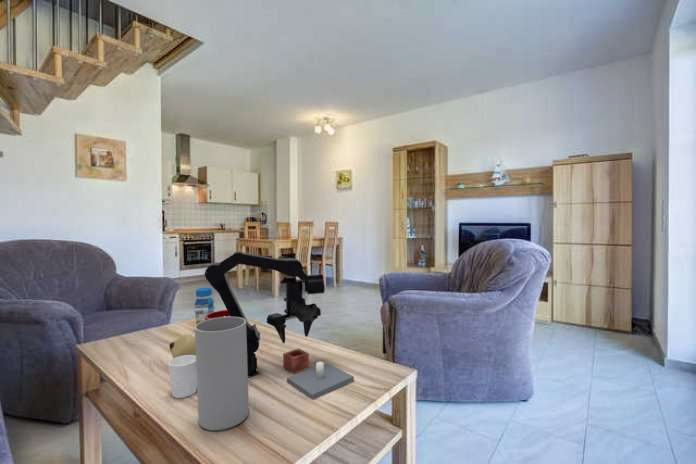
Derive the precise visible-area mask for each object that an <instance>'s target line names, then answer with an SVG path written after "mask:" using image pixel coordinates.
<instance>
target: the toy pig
mask: <svg viewBox="0 0 696 464" xmlns="http://www.w3.org/2000/svg"><path fill="white" fill-rule="evenodd" d="M168 347H169V351H170V353H171V356H172V359H174V358H176V357H179V356H184V355H194V356H196V347H195V336H193V335H190V334H183V335H181V336H180V337H179V338H176V339H173V341H172V342H171V343H169V346H168Z"/></svg>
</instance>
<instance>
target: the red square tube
mask: <svg viewBox="0 0 696 464" xmlns="http://www.w3.org/2000/svg"><path fill="white" fill-rule="evenodd" d="M309 355H310V353H308V352H307V351H305V350H303V349H300V348H296V349H293V350H289V351H287V352H286V351H285V352H283V354H282V358H283V359H282V361H283V367H282V368H284V369H285V370H287V371H288V372H291V373H292V374H293V375H295V374H297V373H298V372H299V373H300V372H303V371H305V370H308V369H310V356H309Z"/></svg>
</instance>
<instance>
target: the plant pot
mask: <svg viewBox="0 0 696 464" xmlns="http://www.w3.org/2000/svg"><path fill="white" fill-rule="evenodd" d="M219 317H230V315H229V313H228V311H227V309H222V310H217V311H216V310H215V311H214V312H212V313H209V314H207V315H206V316H205V320H209V319H213V318H219Z"/></svg>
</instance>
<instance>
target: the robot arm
mask: <svg viewBox="0 0 696 464" xmlns="http://www.w3.org/2000/svg"><path fill="white" fill-rule="evenodd" d="M238 265H244V266H249V267H255V268H262V269H267V270H274V271H276V272H278V273H280V274H283V277H282V278H281V279H280V280H279V282H280V284H281V285H283V284H285V297H283V300H284V302H285V306H286V307H285V309H284V310H283V312H284V314H281V313H278V312H274V313H271V314H268V315H267V317H266V324H268V325H270V326H272V327H274V328H275V331H276V332H277V334H278V336H279V338H280V341H281V342H282V344H285V343H286V328H287V325H286V322H287V321H288V320H292V319H297V320H298V321H299V322H301V323H302V324H303V332H304V337H306V338H307V337H309V333H310V330H311V327H312V324H313V322H314V321H315V320H316V319H318V318H319V316H320V317H321V315H322V311H321V310H322V309H321V308H320V307H318V305H317V304H316V303H311V304H307V303H306V298H305V297H303V296H304V295H303V293H304V292H306V293H307V295H317V294H319V295H320V294H325V288H326V287H325V283H324V282H325V281H324V275H323V274H322V273H316V274H307V272H305V271H304V270H303V268H304V267H303V265H302V263H301V262H300V260H299V259H298V258H295V257H283V258H281V257H279V258H274V257H269V256H264V255H258V254H254V253H248V252H244V251H241V250H238V251H235V252H234V253H233V254H231V255H230V256H228V257H227V258H224V259H223V260H222V261H220V262H213V263H211V264H210V265H208V266H207V268H206V269H205V271H204V276H205V277H204V278H205V279H206V280H207V282H208V283H209V284H210V286H211V287H212V288H213V290H215V291H216V292H217V293H218V295H219V297H220V299H221V301H222V303H223V304H224V306H225V310H227V311H228V313H229V315H230V317H240V318H243V319H245V320H246V336H247V366H248V378H250V377H252V376H255V375H258V374H259V371H258V358H257V356H256V352H257V351H258V350H259V347H260V339H261V332H259V330H258V327H257V324H256V323H253V325H251V324H250V322H249V321H248V320H247V318H246V315H245V314H244V312H243V309H242V308H241V305H240V304H239V301H238V299H237V297H236V295H235V294H234V291H233V289H232V287H231V285H230V280H229V274H228V272H229V271H231V270H233V269H234V268H236V267H237V266H238ZM287 276H289V277H287ZM296 277H297V278H298V279H296ZM303 290H304V291H303Z"/></svg>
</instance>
